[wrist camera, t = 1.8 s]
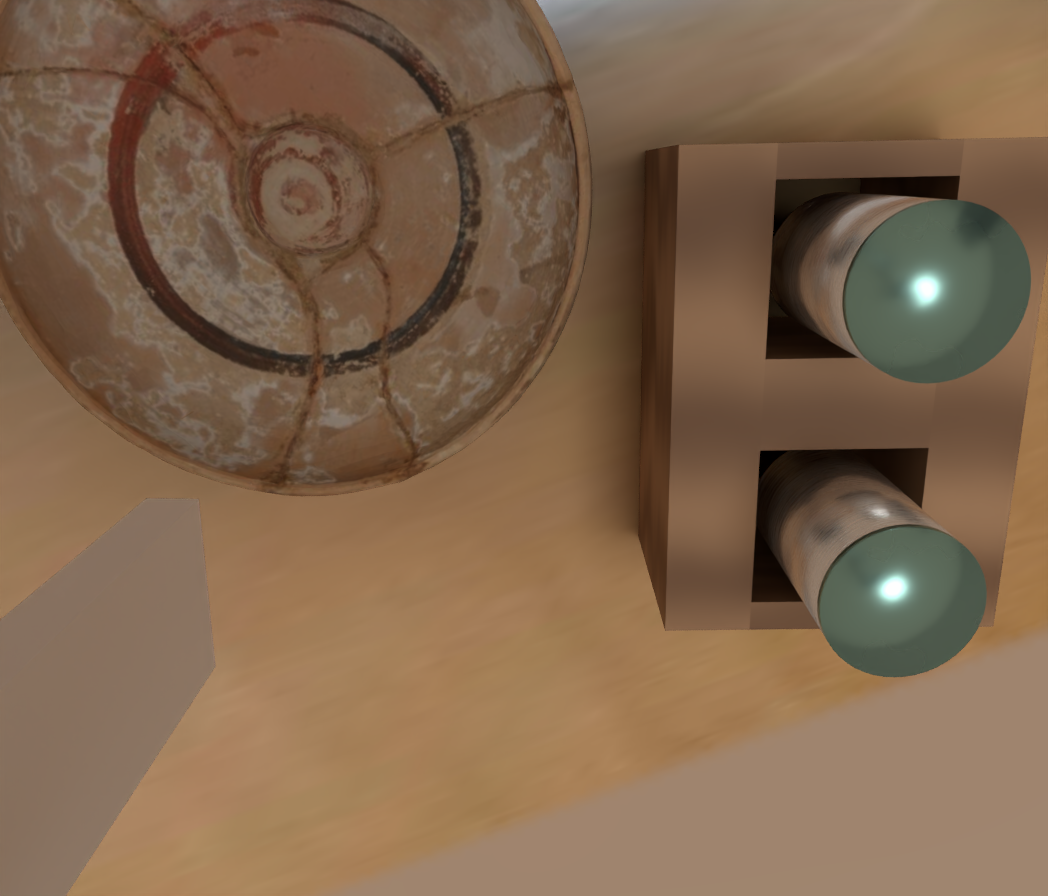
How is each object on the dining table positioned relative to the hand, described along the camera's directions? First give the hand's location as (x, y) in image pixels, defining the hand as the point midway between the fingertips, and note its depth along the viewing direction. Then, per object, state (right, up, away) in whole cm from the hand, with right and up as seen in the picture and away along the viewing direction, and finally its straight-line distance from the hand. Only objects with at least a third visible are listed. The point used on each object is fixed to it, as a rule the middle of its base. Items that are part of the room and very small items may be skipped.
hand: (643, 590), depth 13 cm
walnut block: (+9, +6, +26) cm, 28 cm away
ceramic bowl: (-11, +13, +25) cm, 30 cm away
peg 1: (+9, +9, +19) cm, 22 cm away
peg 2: (+9, 0, +21) cm, 23 cm away
